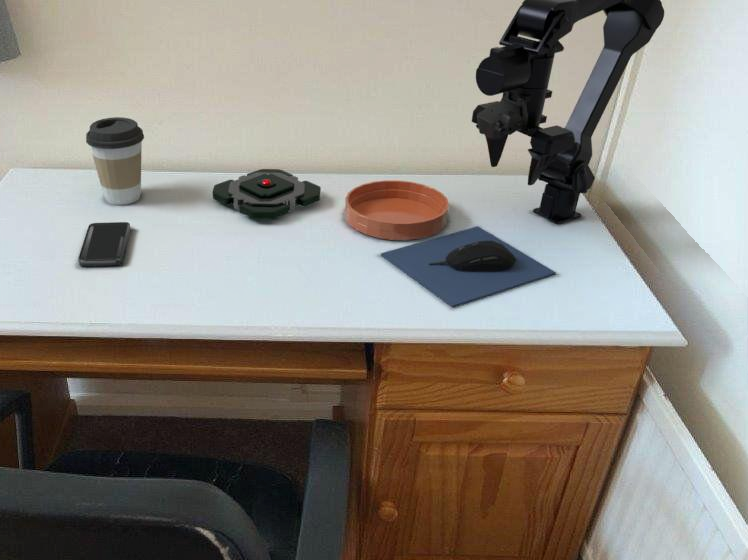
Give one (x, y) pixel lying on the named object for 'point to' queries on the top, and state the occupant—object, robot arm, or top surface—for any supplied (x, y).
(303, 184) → the clover-shaped pad
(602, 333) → the top surface
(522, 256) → the mouse mat
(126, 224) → the phone
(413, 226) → the terracotta plant saucer
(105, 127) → the coffee cup
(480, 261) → the gaming mouse
